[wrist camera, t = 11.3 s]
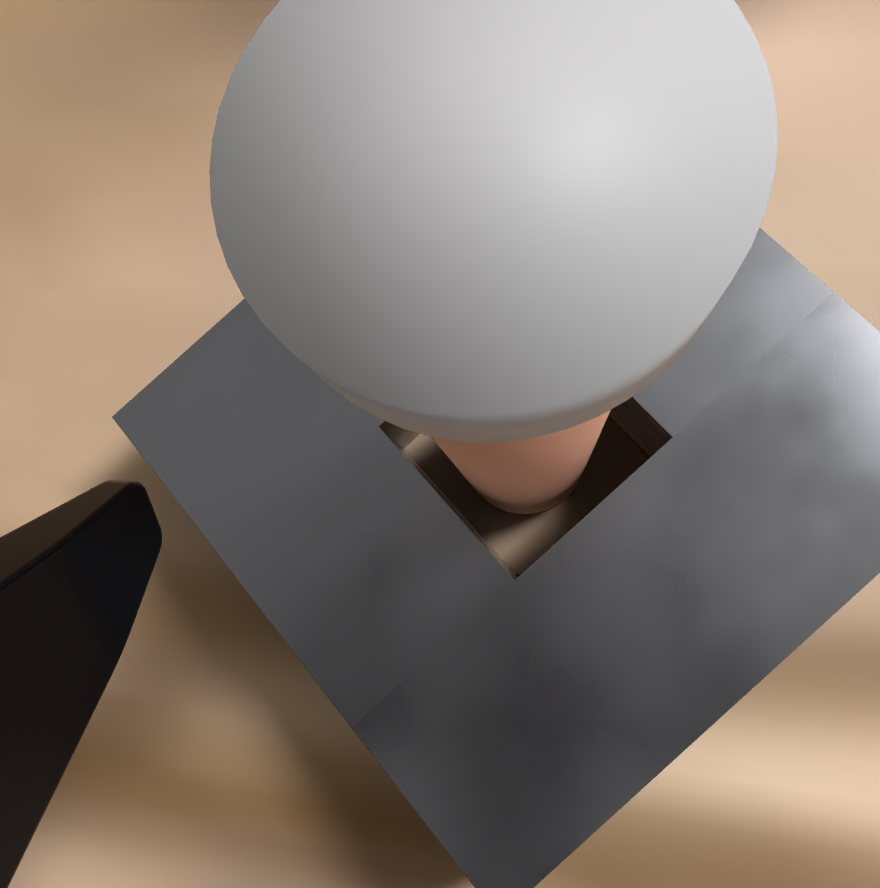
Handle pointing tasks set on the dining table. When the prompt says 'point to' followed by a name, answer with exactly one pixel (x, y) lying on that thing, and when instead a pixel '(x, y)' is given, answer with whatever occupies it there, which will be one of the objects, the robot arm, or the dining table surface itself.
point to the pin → (493, 209)
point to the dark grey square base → (542, 560)
